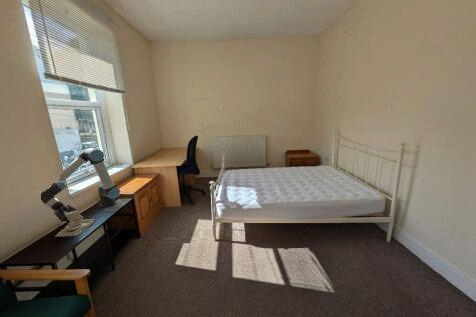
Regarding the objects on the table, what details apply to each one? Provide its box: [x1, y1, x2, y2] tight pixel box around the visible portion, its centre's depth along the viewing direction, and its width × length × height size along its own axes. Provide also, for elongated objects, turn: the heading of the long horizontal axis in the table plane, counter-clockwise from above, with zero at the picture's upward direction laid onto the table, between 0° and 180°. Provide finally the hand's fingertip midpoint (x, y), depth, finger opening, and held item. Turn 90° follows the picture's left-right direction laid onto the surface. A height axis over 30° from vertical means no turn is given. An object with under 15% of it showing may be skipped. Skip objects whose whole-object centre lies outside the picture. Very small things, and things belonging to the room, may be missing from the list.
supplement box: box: [65, 209, 82, 229], centre depth 168 cm, size 8×5×13 cm, turn 134°
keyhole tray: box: [54, 218, 96, 238], centre depth 169 cm, size 22×17×2 cm
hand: (78, 221), depth 168 cm, fingers closed on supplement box, 9 cm apart
